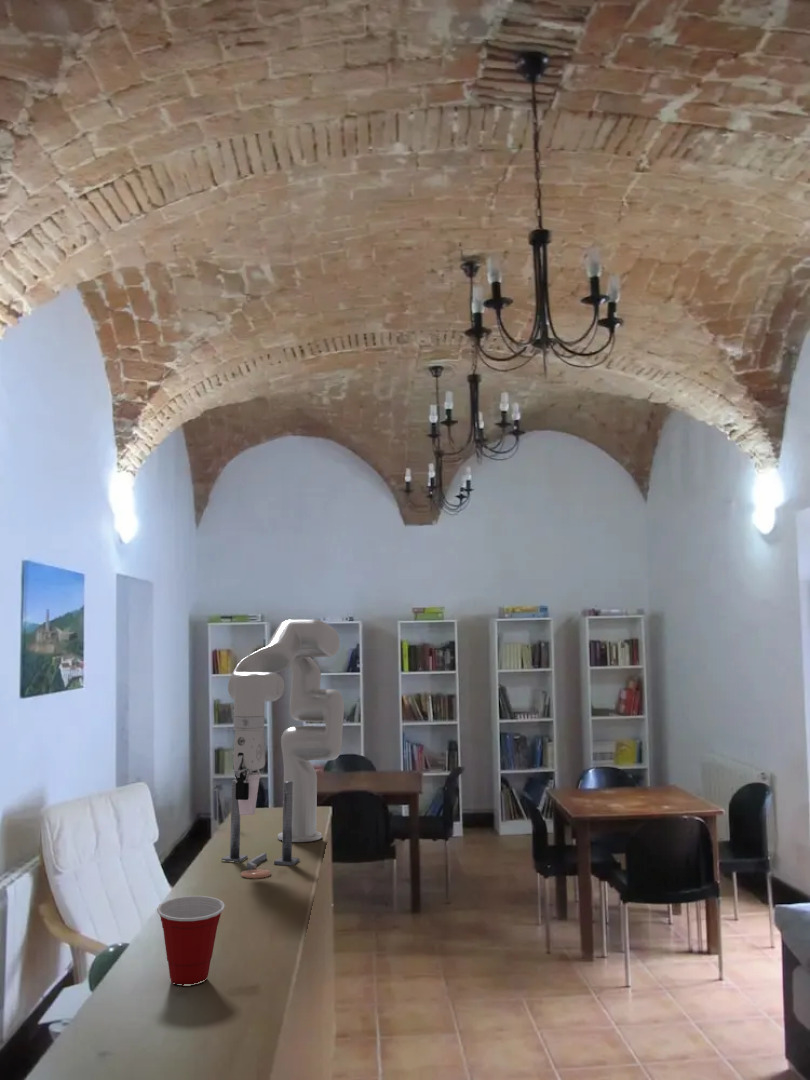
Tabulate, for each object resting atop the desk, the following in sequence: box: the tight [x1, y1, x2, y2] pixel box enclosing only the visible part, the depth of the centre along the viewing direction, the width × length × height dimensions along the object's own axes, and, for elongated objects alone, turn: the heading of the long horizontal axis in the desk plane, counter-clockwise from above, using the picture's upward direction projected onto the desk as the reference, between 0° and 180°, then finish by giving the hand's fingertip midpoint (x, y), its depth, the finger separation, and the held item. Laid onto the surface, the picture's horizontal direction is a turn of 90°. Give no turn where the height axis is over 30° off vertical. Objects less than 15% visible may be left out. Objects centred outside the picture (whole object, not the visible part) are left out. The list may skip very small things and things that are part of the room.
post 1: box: [221, 779, 248, 863], centre depth 238 cm, size 5×5×20 cm
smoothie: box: [234, 770, 262, 816], centre depth 229 cm, size 6×6×14 cm
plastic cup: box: [156, 895, 225, 985], centre depth 151 cm, size 11×11×12 cm
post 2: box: [273, 781, 300, 866], centre depth 235 cm, size 5×5×20 cm
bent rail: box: [246, 852, 268, 870], centre depth 232 cm, size 14×3×2 cm, turn 168°
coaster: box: [240, 868, 272, 880], centre depth 221 cm, size 7×7×1 cm
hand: (247, 796), depth 228 cm, fingers closed on smoothie, 6 cm apart
